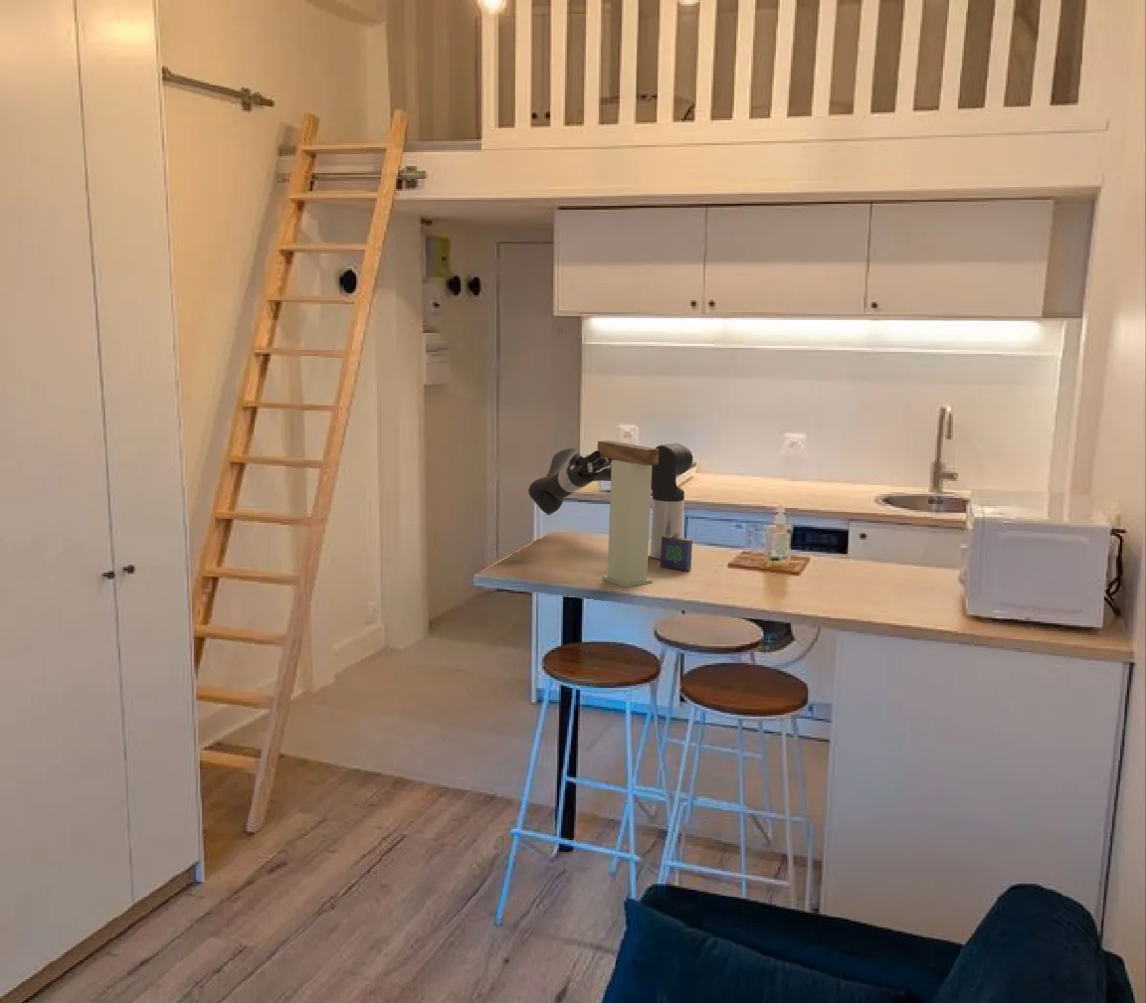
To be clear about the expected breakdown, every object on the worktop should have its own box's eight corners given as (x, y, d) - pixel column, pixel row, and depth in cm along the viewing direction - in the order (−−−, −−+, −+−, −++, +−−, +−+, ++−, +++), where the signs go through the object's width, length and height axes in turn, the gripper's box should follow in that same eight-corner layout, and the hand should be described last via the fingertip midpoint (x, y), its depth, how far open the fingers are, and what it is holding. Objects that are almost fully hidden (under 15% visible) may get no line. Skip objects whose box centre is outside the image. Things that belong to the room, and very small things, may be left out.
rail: (608, 455, 274) (609, 440, 273) (658, 464, 258) (658, 449, 258) (597, 456, 272) (597, 441, 271) (646, 465, 256) (647, 449, 255)
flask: (692, 570, 283) (694, 532, 281) (688, 572, 280) (689, 534, 279) (662, 565, 287) (663, 528, 286) (657, 567, 285) (659, 530, 283)
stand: (627, 574, 276) (632, 457, 270) (652, 582, 268) (657, 462, 262) (602, 578, 270) (606, 459, 265) (626, 587, 262) (631, 464, 257)
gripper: (600, 485, 286) (635, 463, 273) (560, 489, 277) (595, 467, 265) (593, 460, 287) (627, 438, 275) (553, 464, 279) (586, 441, 266)
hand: (611, 452), depth 270 cm, fingers open, 8 cm apart
